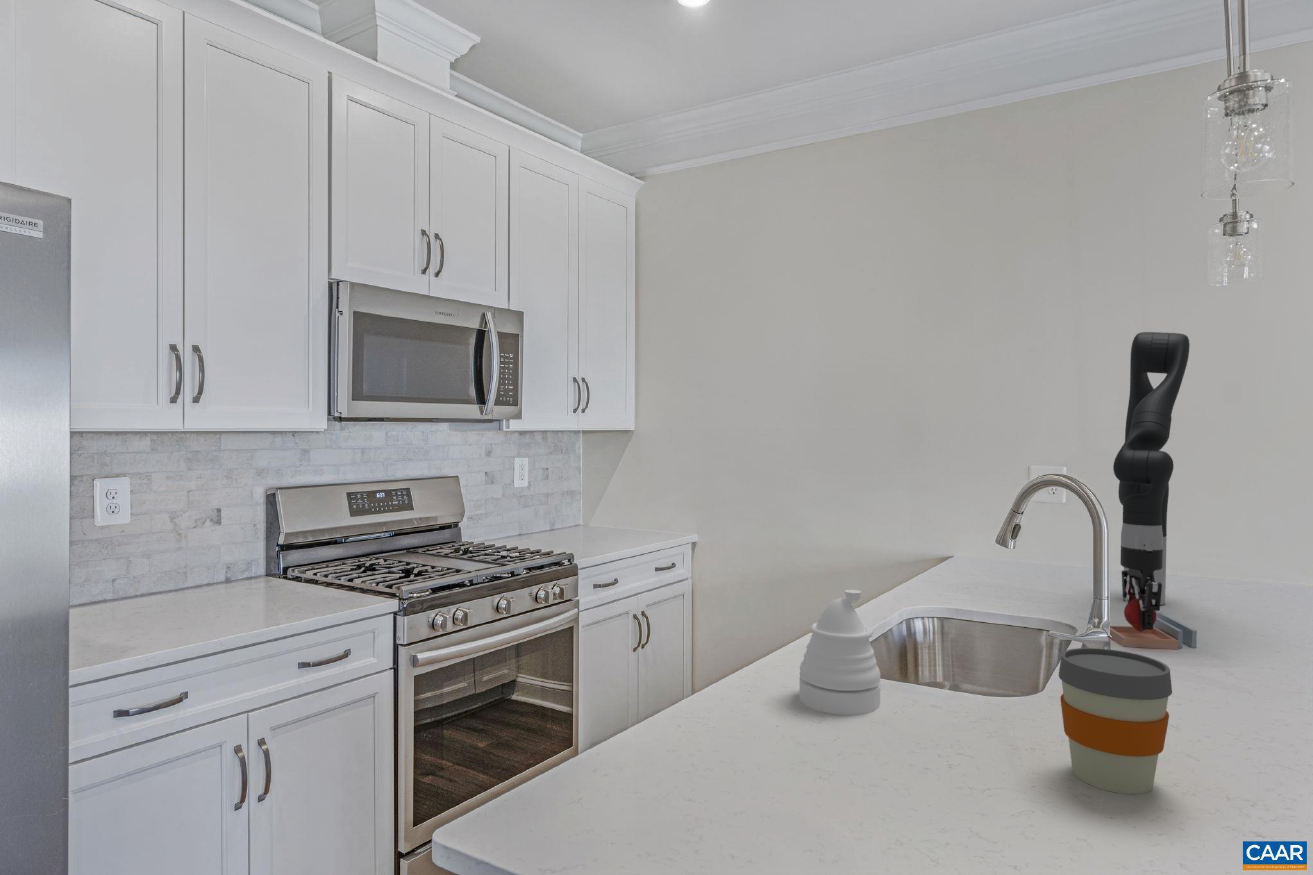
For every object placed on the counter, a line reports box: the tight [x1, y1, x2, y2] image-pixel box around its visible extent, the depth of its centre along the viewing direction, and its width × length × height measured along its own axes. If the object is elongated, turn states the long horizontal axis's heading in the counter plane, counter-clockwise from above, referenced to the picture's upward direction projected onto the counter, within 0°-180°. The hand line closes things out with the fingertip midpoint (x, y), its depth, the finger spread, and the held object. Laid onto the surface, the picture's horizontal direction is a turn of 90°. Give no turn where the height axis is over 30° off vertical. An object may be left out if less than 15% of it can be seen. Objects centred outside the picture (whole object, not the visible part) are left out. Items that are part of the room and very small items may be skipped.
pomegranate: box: [1123, 598, 1157, 632], centre depth 165 cm, size 6×6×8 cm
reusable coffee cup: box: [1058, 647, 1173, 795], centre depth 101 cm, size 13×13×15 cm
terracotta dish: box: [1110, 625, 1179, 650], centre depth 165 cm, size 10×10×2 cm
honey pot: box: [798, 589, 881, 716], centre depth 128 cm, size 13×13×18 cm
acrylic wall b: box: [1153, 618, 1184, 649], centre depth 168 cm, size 16×1×4 cm, turn 170°
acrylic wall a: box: [1156, 611, 1198, 649], centre depth 168 cm, size 16×1×4 cm, turn 170°
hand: (1140, 624), depth 165 cm, fingers closed on pomegranate, 5 cm apart
